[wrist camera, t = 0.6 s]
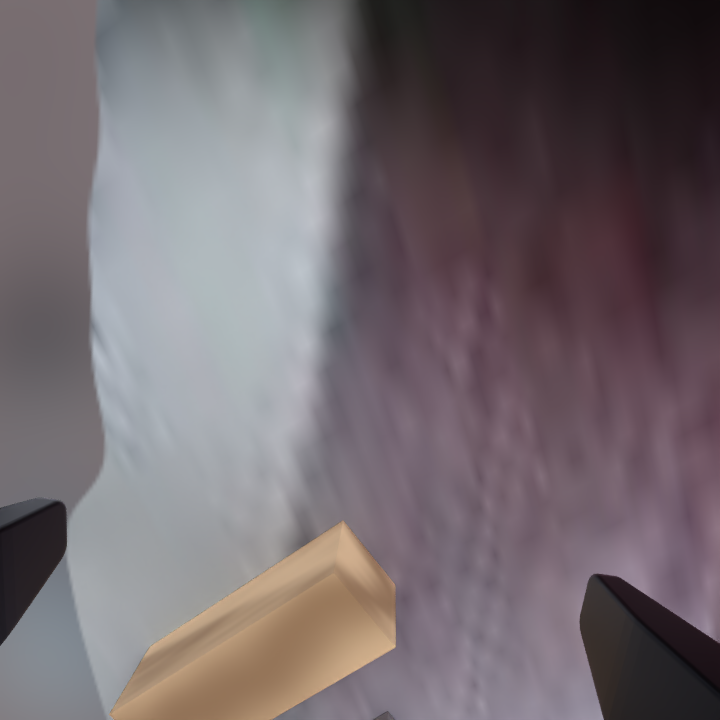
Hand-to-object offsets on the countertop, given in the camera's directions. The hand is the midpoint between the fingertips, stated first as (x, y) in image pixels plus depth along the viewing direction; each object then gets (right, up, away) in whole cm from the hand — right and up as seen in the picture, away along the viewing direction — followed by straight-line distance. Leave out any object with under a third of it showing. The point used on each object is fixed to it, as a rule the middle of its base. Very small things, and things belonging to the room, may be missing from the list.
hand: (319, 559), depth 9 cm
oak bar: (-4, -9, +16) cm, 19 cm away
